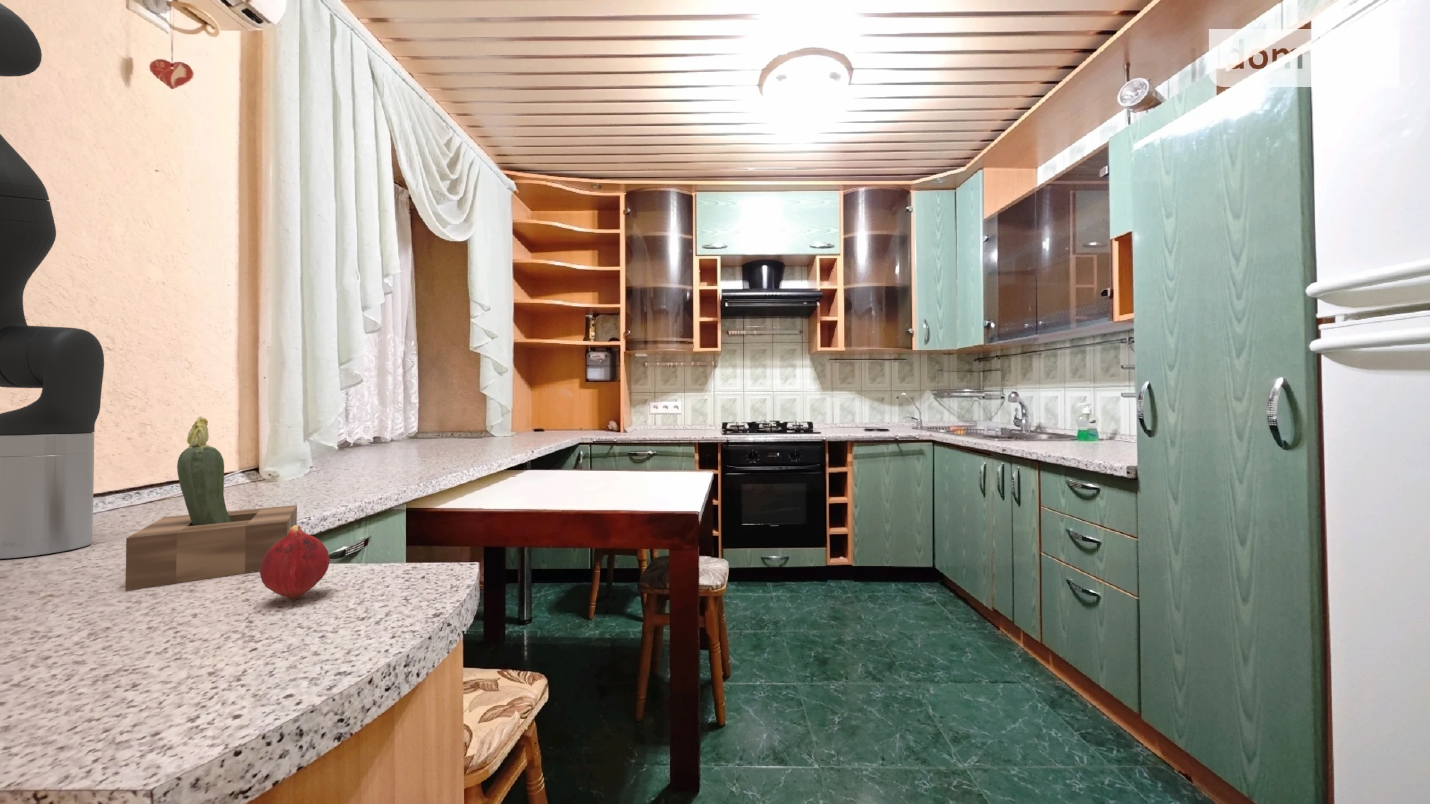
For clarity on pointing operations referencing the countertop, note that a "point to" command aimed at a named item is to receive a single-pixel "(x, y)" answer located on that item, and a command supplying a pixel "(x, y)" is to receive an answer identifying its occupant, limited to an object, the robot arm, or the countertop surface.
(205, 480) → the vegetable
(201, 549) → the socket block
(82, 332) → the robot arm
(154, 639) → the countertop surface
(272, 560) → the onion
